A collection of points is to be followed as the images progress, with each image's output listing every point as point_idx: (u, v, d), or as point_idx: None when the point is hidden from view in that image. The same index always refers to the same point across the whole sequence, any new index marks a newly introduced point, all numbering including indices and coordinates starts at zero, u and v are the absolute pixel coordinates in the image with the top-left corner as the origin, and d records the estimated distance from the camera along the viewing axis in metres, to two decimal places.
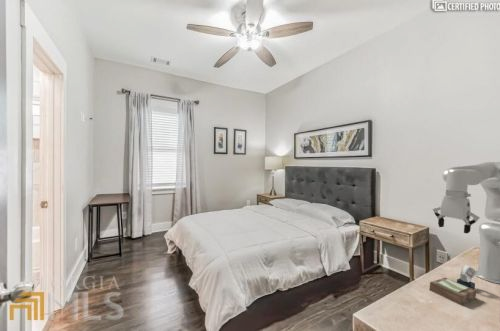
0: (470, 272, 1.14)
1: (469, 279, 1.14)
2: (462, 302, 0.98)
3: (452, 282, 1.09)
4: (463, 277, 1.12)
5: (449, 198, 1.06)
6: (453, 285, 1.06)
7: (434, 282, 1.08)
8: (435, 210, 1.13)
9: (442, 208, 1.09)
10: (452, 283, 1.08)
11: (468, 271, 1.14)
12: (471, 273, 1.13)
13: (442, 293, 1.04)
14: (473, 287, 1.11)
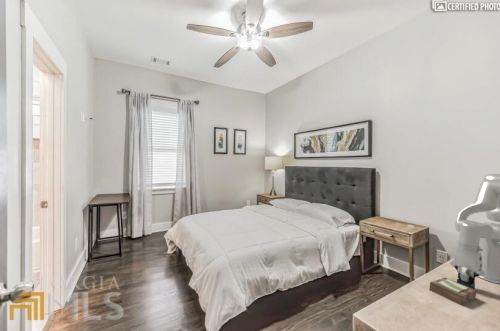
0: None
1: None
2: (462, 302, 0.98)
3: (452, 282, 1.09)
4: (463, 277, 1.12)
5: (462, 250, 1.14)
6: (453, 285, 1.06)
7: (434, 282, 1.08)
8: (453, 263, 1.18)
9: (455, 258, 1.16)
10: (452, 283, 1.08)
11: (468, 271, 1.14)
12: None
13: (442, 293, 1.04)
14: (473, 287, 1.11)
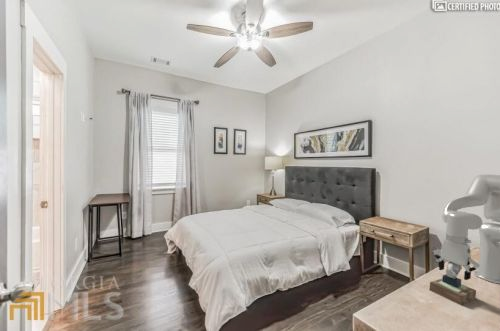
0: (456, 268, 1.07)
1: (455, 275, 1.08)
2: (462, 302, 0.98)
3: None
4: (449, 273, 1.05)
5: (449, 242, 1.06)
6: None
7: (434, 282, 1.08)
8: (435, 252, 1.12)
9: (442, 251, 1.09)
10: None
11: (454, 267, 1.08)
12: (457, 269, 1.07)
13: (442, 293, 1.04)
14: (459, 283, 1.05)
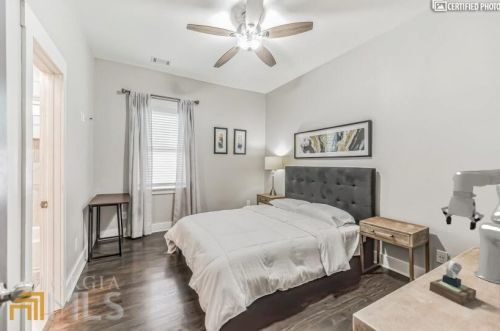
0: (456, 268, 1.07)
1: (455, 275, 1.08)
2: (462, 302, 0.98)
3: None
4: (449, 273, 1.05)
5: (456, 198, 1.17)
6: None
7: (434, 282, 1.08)
8: (443, 209, 1.23)
9: (450, 207, 1.20)
10: None
11: (454, 267, 1.08)
12: (457, 269, 1.07)
13: (442, 293, 1.04)
14: (459, 283, 1.05)
